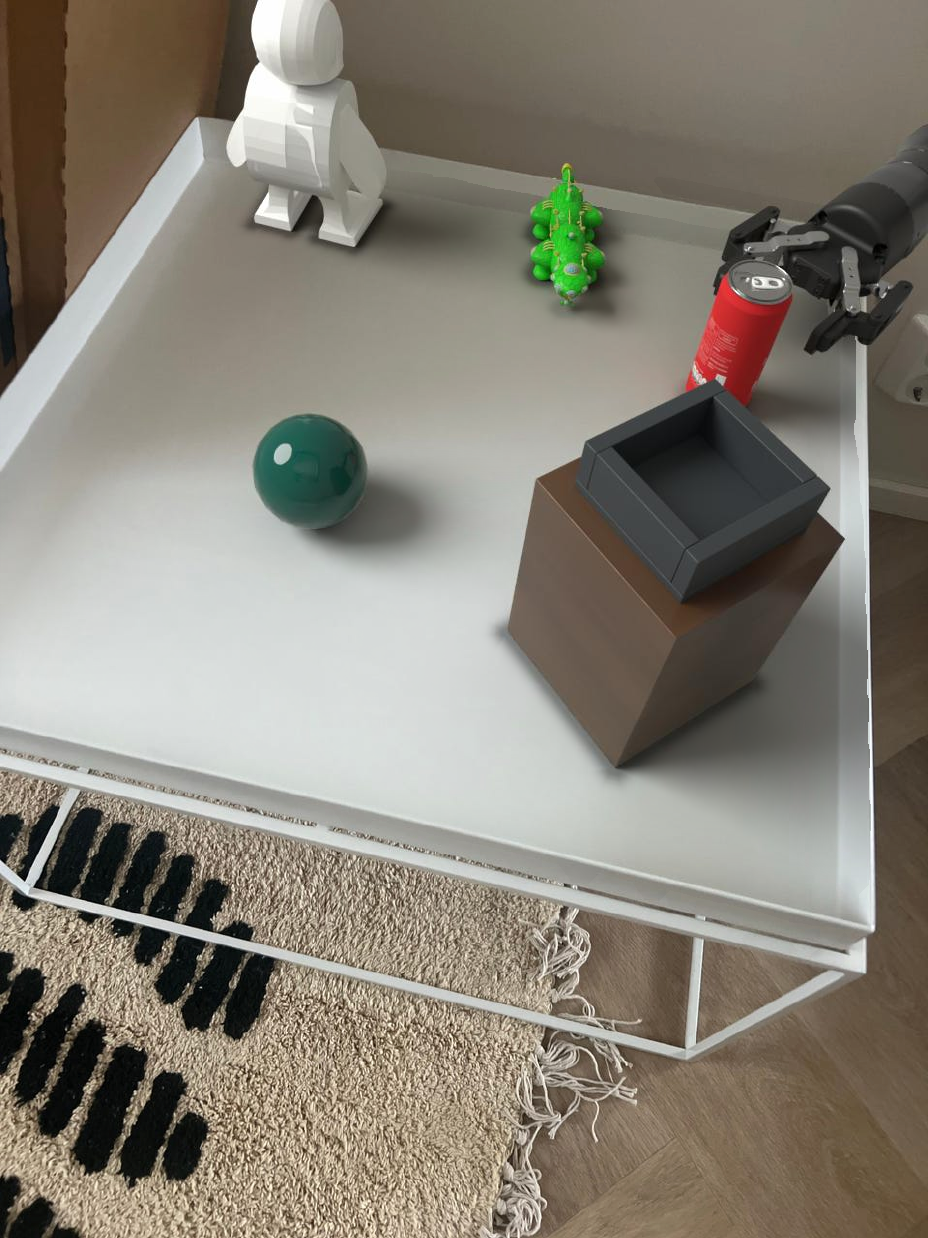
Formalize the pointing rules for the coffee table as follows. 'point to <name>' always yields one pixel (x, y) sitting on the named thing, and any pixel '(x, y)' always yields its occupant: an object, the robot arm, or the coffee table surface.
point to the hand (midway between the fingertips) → (764, 315)
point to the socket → (698, 488)
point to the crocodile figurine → (566, 239)
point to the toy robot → (306, 124)
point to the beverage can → (742, 327)
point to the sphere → (310, 471)
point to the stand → (645, 620)
